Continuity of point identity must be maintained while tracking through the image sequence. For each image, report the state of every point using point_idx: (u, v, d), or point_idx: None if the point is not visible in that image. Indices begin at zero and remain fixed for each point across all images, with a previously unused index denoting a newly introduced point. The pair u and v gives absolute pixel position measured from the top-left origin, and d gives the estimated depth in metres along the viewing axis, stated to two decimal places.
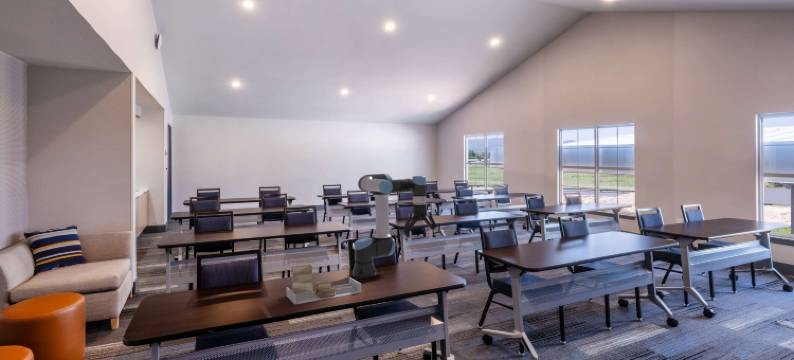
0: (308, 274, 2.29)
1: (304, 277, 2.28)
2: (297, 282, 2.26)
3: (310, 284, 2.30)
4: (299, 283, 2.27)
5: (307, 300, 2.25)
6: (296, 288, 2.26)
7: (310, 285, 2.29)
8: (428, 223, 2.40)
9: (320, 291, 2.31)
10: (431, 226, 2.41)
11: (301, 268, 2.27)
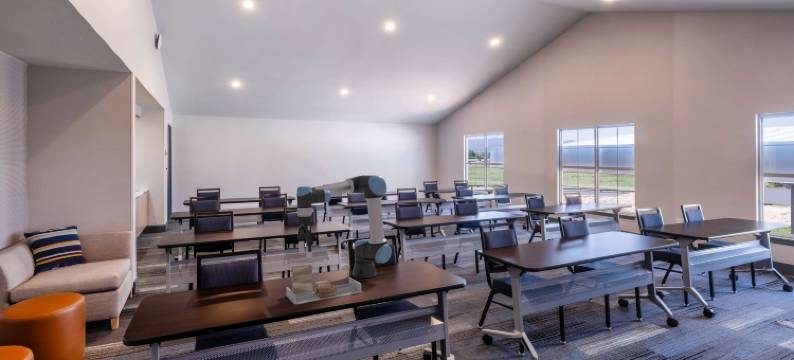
0: (308, 274, 2.29)
1: (304, 277, 2.28)
2: (297, 282, 2.26)
3: (310, 284, 2.30)
4: (299, 283, 2.27)
5: (307, 300, 2.25)
6: (296, 288, 2.26)
7: (310, 285, 2.29)
8: (305, 238, 2.24)
9: (320, 291, 2.31)
10: (306, 242, 2.22)
11: (301, 268, 2.27)
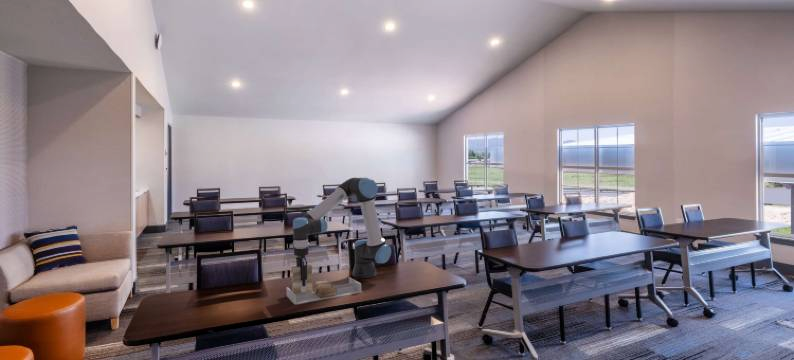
0: (308, 274, 2.29)
1: None
2: (297, 282, 2.26)
3: (310, 284, 2.30)
4: (299, 283, 2.27)
5: (307, 300, 2.25)
6: (296, 288, 2.26)
7: (310, 285, 2.29)
8: None
9: (320, 291, 2.31)
10: (301, 276, 2.26)
11: None
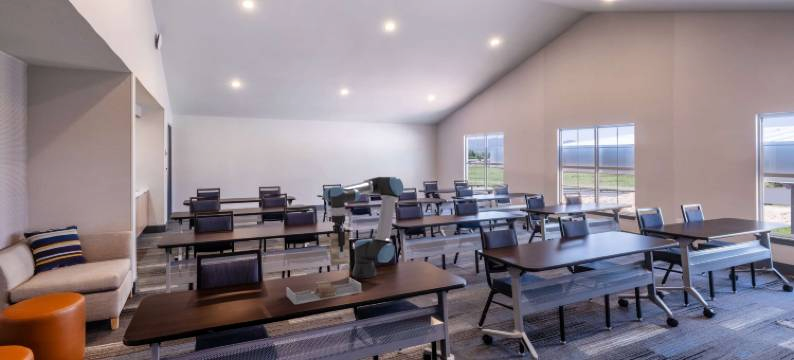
0: (345, 241, 2.38)
1: None
2: (335, 247, 2.36)
3: (347, 250, 2.39)
4: (337, 249, 2.36)
5: (307, 300, 2.25)
6: (334, 253, 2.36)
7: (347, 251, 2.39)
8: (338, 237, 2.36)
9: (320, 291, 2.31)
10: None
11: None
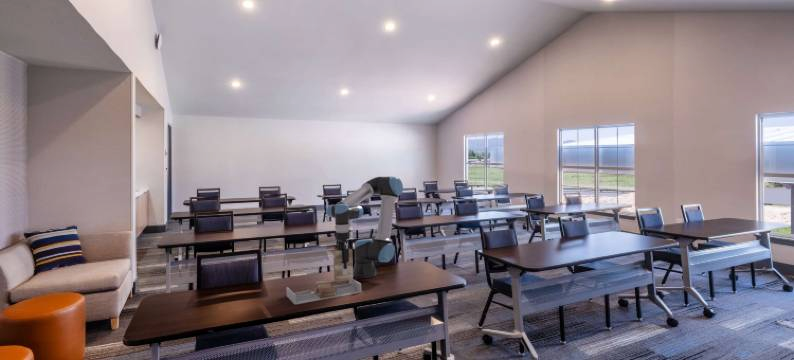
0: (349, 258, 2.40)
1: None
2: (339, 264, 2.37)
3: (351, 267, 2.40)
4: (341, 265, 2.38)
5: (307, 300, 2.25)
6: (338, 270, 2.37)
7: (350, 268, 2.40)
8: (342, 254, 2.38)
9: (320, 291, 2.31)
10: (342, 259, 2.37)
11: None
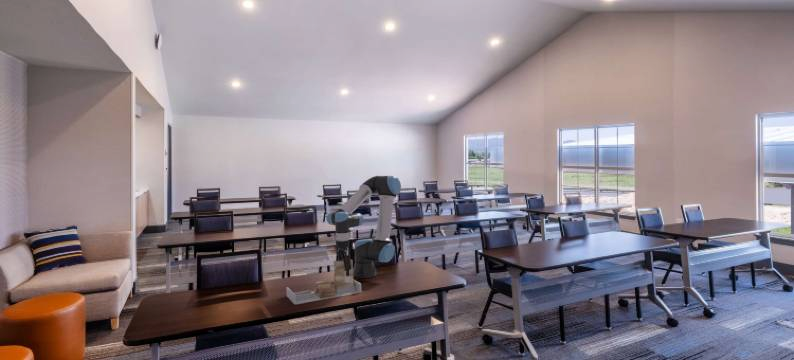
0: None
1: None
2: (339, 275, 2.37)
3: (351, 277, 2.41)
4: (341, 276, 2.38)
5: (307, 300, 2.25)
6: (338, 281, 2.37)
7: (351, 278, 2.41)
8: None
9: (320, 291, 2.31)
10: None
11: (343, 262, 2.38)
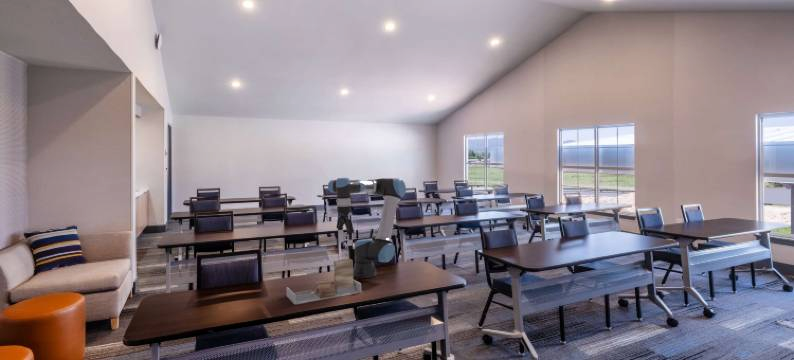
0: (349, 268, 2.40)
1: (346, 271, 2.39)
2: (339, 275, 2.37)
3: (351, 277, 2.41)
4: (341, 276, 2.38)
5: (307, 300, 2.25)
6: (338, 281, 2.37)
7: (351, 278, 2.41)
8: None
9: (320, 291, 2.31)
10: (347, 230, 2.34)
11: (343, 262, 2.38)
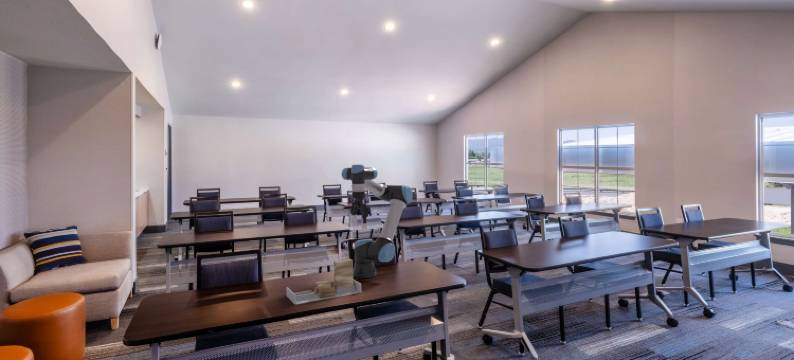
0: (349, 268, 2.40)
1: (346, 271, 2.39)
2: (339, 275, 2.37)
3: (351, 277, 2.41)
4: (341, 276, 2.38)
5: (307, 300, 2.25)
6: (338, 281, 2.37)
7: (351, 278, 2.41)
8: (360, 211, 2.45)
9: (320, 291, 2.31)
10: (361, 214, 2.44)
11: (343, 262, 2.38)
